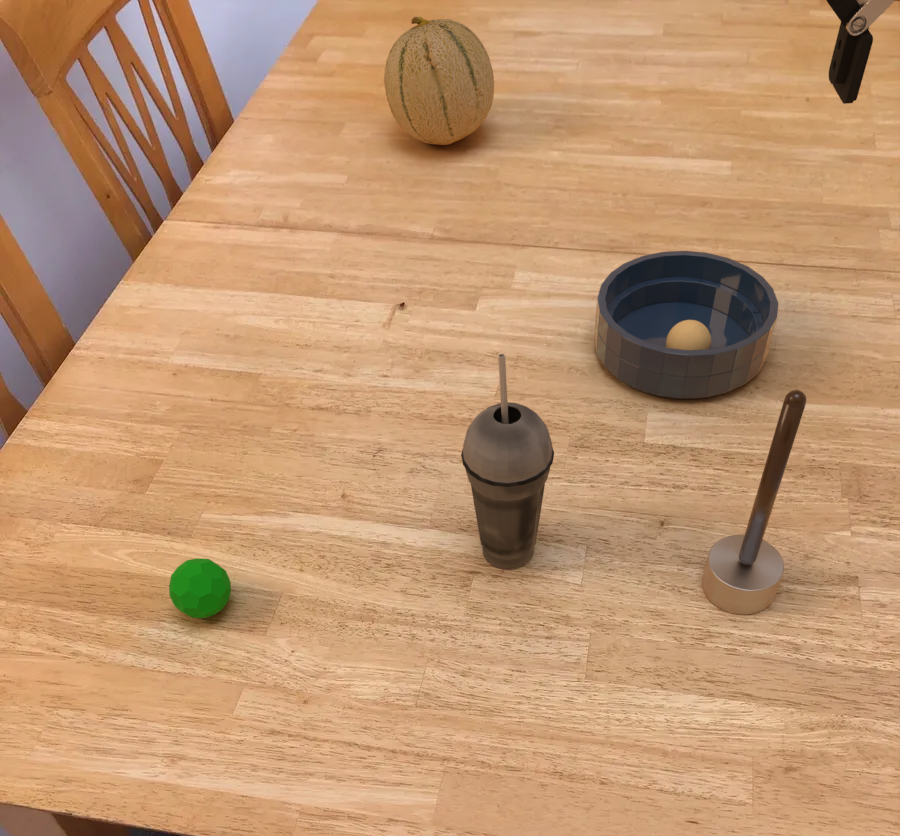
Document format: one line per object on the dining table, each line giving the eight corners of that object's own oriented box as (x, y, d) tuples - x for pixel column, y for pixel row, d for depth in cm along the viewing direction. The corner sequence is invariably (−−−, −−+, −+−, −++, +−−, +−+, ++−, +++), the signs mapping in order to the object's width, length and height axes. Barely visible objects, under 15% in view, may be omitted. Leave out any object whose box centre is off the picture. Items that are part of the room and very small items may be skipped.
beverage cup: (481, 591, 79) (473, 408, 63) (456, 531, 83) (443, 346, 67) (561, 569, 80) (573, 384, 64) (533, 511, 84) (538, 324, 68)
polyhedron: (248, 602, 79) (235, 566, 75) (203, 638, 77) (187, 603, 73) (211, 574, 81) (196, 538, 78) (167, 608, 79) (149, 572, 76)
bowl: (746, 296, 102) (757, 246, 97) (782, 400, 91) (796, 350, 87) (586, 304, 103) (590, 255, 98) (603, 408, 92) (607, 359, 87)
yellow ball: (688, 317, 90) (725, 336, 91) (675, 308, 93) (711, 326, 95) (664, 359, 91) (701, 377, 93) (652, 348, 95) (688, 365, 96)
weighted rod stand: (772, 561, 79) (838, 364, 63) (778, 617, 75) (851, 424, 59) (700, 557, 80) (747, 362, 63) (703, 612, 76) (755, 420, 60)
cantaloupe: (488, 166, 123) (485, 44, 111) (380, 163, 125) (366, 43, 113) (501, 114, 132) (500, -5, 120) (401, 112, 134) (390, -5, 122)
